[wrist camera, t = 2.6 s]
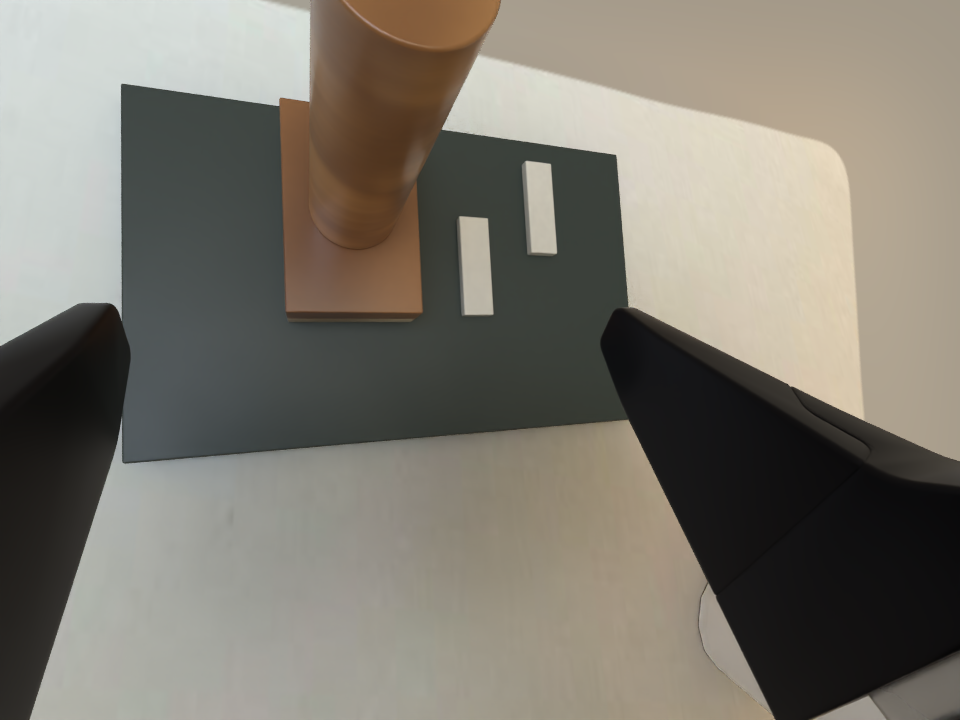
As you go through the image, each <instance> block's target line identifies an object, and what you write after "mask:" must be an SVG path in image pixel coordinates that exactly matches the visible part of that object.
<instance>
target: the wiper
mask: <svg viewBox="0 0 960 720" xmlns="http://www.w3.org/2000/svg"><path fill="white" fill-rule="evenodd" d="M310 2H311V3H310V5H311V6H310V102H306V101H299V100H292V99H286V98H280V99H279V104H280V140H281V176H282V211H283V247H284V282H285V312H286V316H287V320H288V322H411V321H413V320H414V319H416V318H417V317H418V316H419V315H421V314H422V313H423V304H422V283H421V263H420V242H419V222H418V201H417V181H416V180H417V178H418V176H419V174H420V172H421V170H422V168H423V166H424V164H425V162H426V160H427V158H428V155H429V153H430V151H431V149H432V147H433V145H434V143H435V141H436V139H437V137H438V135H439V133H440V131H441V129H442V127H443V125H444V123H445V121H446V119H447V117H448V115H449V113H450V111H451V109H452V107H453V104H454V102H455V100H456V98H457V96H458V94H459V92H460V90H461V88H462V86H463V84H464V82H465V80H466V78H467V76H468V74H469V72H470V70H471V68H472V66H473V64H474V62H475V60H476V58H477V55H478V53H479V51H480V49H481V47H482V45H483V43H484V41H485V39H486V37H487V35H488V33H489V31H490V29H491V27H492V25H493V23H494V21H495V19H496V16H497V14H498V11H499V7H500V3H501V0H310Z"/></svg>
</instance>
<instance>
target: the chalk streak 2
mask: <svg viewBox="0 0 960 720" xmlns="http://www.w3.org/2000/svg"><path fill="white" fill-rule="evenodd" d="M522 179H523V195H524V210H525V225H526V241H527V254H528V255H537V256H554V255H555V254H557V244H556V230H555V216H554V201H553V187H552V173H551V164H547V163H539V162H532V161H525V162H524V163H523V164H522Z"/></svg>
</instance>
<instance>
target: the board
mask: <svg viewBox="0 0 960 720" xmlns="http://www.w3.org/2000/svg"><path fill="white" fill-rule="evenodd" d="M525 161H532V162H539V163H547V164H551V173H552V187H553V201H554V216H555V230H556V244H557V254H555V255H554V256H537V255H528V254H527V241H526V225H525V210H524V195H523V179H522V164H523V163H524V162H525ZM416 181H417V201H418V222H419V242H420V263H421V283H422V304H423V313H422V314H421V315H419V316H418V317H417V318H416V319H414V320H413V321H411V322H288V320H287V316H286V312H285V282H284V247H283V211H282V176H281V140H280V106H273V105H266V104H259V103H252V102H245V101H238V100H231V99H224V98H218V97H211V96H204V95H197V94H190V93H183V92H176V91H169V90H162V89H155V88H148V87H141V86H134V85H127V84H122V85H121V211H122V324H123V327H124V330H125V334H126V337H127V340H128V343H129V346H130V351H131V362H130V368H129V374H128V380H127V387H126V393H125V399H124V405H123V411H122V462H123V463H125V464H126V463H137V462H149V461H160V460H171V459H183V458H194V457H206V456H217V455H229V454H240V453H251V452H263V451H274V450H286V449H297V448H309V447H320V446H331V445H343V444H354V443H366V442H377V441H389V440H400V439H411V438H423V437H434V436H446V435H457V434H468V433H480V432H491V431H503V430H514V429H526V428H537V427H548V426H560V425H571V424H583V423H594V422H606V421H617V420H628V417H627V415H626V413H625V411H624V409H623V407H622V404H621V402H620V399H619V397H618V394H617V392H616V389H615V386H614V383H613V381H612V378H611V375H610V373H609V370H608V367H607V364H606V362H605V359H604V356H603V354H602V351H601V347H600V339H601V336H602V334H603V332H604V329H605V327H606V325H607V323H608V321H609V318H610V316H611V314H612V312H613V311H614V310H615V309H617V308H619V307H628V296H627V283H626V271H625V258H624V246H623V233H622V221H621V208H620V196H619V183H618V171H617V158H616V155H612V154H605V153H598V152H592V151H585V150H578V149H571V148H564V147H557V146H550V145H543V144H536V143H529V142H522V141H515V140H508V139H501V138H495V137H488V136H481V135H474V134H467V133H460V132H453V131H446V130H441V131H440V133H439V135H438V137H437V139H436V141H435V143H434V145H433V147H432V149H431V151H430V153H429V155H428V158H427V160H426V162H425V164H424V166H423V168H422V170H421V172H420V174H419V176H418V178H417V180H416ZM459 216H464V217H476V218H487V219H488V230H489V246H490V263H491V280H492V297H493V315H492V316H490V317H463V316H462V313H461V295H460V277H459V258H458V240H457V222H456V220H457V219H458V217H459Z"/></svg>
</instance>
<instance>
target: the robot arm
mask: <svg viewBox="0 0 960 720" xmlns="http://www.w3.org/2000/svg"><path fill="white" fill-rule="evenodd" d="M600 347H601V351H602V354H603V356H604V359H605V362H606V364H607V367H608V370H609V373H610V375H611V378H612V381H613V383H614V386H615V389H616V392H617V394H618V397H619V399H620V402H621V404H622V407H623V409H624V411H625V413H626V415H627V417H628V419H629V421H630V424H631V426H632V428H633V430H634V432H635V434H636V436H637V438H638V440H639V442H640V444H641V446H642V448H643V450H644V452H645V454H646V456H647V458H648V460H649V462H650V464H651V466H652V468H653V470H654V473H655V475H656V477H657V479H658V481H659V483H660V485H661V487H662V489H663V491H664V493H665V495H666V497H667V499H668V501H669V503H670V505H671V507H672V509H673V511H674V513H675V515H676V517H677V519H678V522H679V524H680V526H681V528H682V530H683V532H684V534H685V536H686V538H687V540H688V542H689V544H690V546H691V548H692V550H693V552H694V554H695V556H696V558H697V560H698V562H699V564H700V566H701V568H702V570H703V573H704V575H705V577H706V579H707V581H708V583H709V585H710V587H711V589H712V591H713V593H714V595H716V600H717V602H718V604H719V606H720V608H721V610H722V612H723V614H724V616H725V618H726V620H727V622H728V624H729V626H730V628H731V631H732V633H733V635H734V637H735V639H736V641H737V643H738V645H739V647H740V649H741V651H742V653H743V655H744V657H745V659H746V661H747V663H748V665H749V667H750V669H751V671H752V673H753V675H754V678H755V680H756V682H757V684H758V686H759V688H760V690H761V692H762V694H763V696H764V698H765V700H766V702H767V704H768V706H769V708H770V710H771V712H772V714H773V716H774V718H775V720H813V719H816V718H818V717H820V716H823V715H825V714H827V713H830V712H832V711H834V710H837V709H839V708H841V707H844V706H846V705H848V704H851V703H853V702H855V701H858V700H860V699H862V698H865V697H867V696H869V697H870V698H871V700H872V701H873V702H874V704H875V705H876V706H877V708H878V709H879V710H880V712H881V713H882V714H883V716H884V717H885V718H886V720H960V461H957V460H953V459H950V458H947V457H944V456H942V455H939V454H937V453H934V452H932V451H930V450H927V449H925V448H923V447H921V446H918V445H916V444H914V443H912V442H910V441H907V440H905V439H903V438H900V437H898V436H896V435H894V434H892V433H890V432H887V431H885V430H883V429H881V428H879V427H876V426H874V425H872V424H870V423H867V422H865V421H863V420H861V419H859V418H857V417H855V416H852V415H850V414H848V413H846V412H844V411H842V410H839V409H837V408H835V407H833V406H831V405H829V404H827V403H825V402H823V401H821V400H819V399H817V398H815V397H813V396H810V395H808V394H806V393H804V392H802V391H800V390H798V389H796V388H794V387H790V386H789V385H788V384H786V383H784V382H782V381H780V380H778V379H776V378H774V377H772V376H770V375H768V374H766V373H764V372H762V371H760V370H758V369H756V368H754V367H752V366H750V365H748V364H746V363H744V362H742V361H740V360H738V359H736V358H734V357H732V356H730V355H728V354H726V353H724V352H722V351H720V350H718V349H716V348H714V347H712V346H710V345H708V344H706V343H704V342H702V341H700V340H698V339H696V338H694V337H692V336H690V335H688V334H686V333H684V332H682V331H680V330H678V329H676V328H674V327H672V326H670V325H668V324H666V323H664V322H662V321H660V320H658V319H656V318H654V317H652V316H650V315H648V314H646V313H644V312H642V311H640V310H638V309H636V308H632V307H619V308H617V309H615V310H614V311H613V312H612V314H611V316H610V318H609V321H608V323H607V325H606V327H605V329H604V332H603V334H602V336H601V339H600ZM130 362H131V351H130V346H129V343H128V340H127V337H126V334H125V330H124V327H123V324H122V321H121V318H120V315H119V312H118V310H117V309H116V307H115V306H114V305H112V304H109V303H80V304H77V305H75V306H73V307H71V308H70V309H68V310H66V311H64V312H62V313H60V314H59V315H57V316H55V317H53V318H51V319H49V320H48V321H46V322H44V323H42V324H40V325H38V326H37V327H35V328H33V329H31V330H29V331H27V332H26V333H24V334H22V335H20V336H18V337H16V338H15V339H13V340H11V341H9V342H7V343H5V344H4V345H2V346H0V720H29V719H30V716H31V713H32V710H33V707H34V704H35V701H36V697H37V694H38V691H39V688H40V685H41V682H42V679H43V675H44V672H45V669H46V666H47V663H48V660H49V657H50V654H51V650H52V647H53V644H54V641H55V638H56V635H57V632H58V628H59V625H60V622H61V619H62V616H63V613H64V610H65V607H66V603H67V600H68V597H69V594H70V591H71V588H72V585H73V581H74V578H75V575H76V572H77V569H78V566H79V563H80V560H81V556H82V553H83V550H84V547H85V544H86V541H87V538H88V534H89V531H90V528H91V525H92V522H93V519H94V516H95V512H96V509H97V506H98V503H99V500H100V497H101V494H102V491H103V487H104V484H105V481H106V478H107V475H108V472H109V469H110V465H111V462H112V459H113V456H114V452H115V449H116V445H117V440H118V435H119V430H120V424H121V418H122V411H123V405H124V399H125V393H126V387H127V380H128V374H129V368H130Z"/></svg>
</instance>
